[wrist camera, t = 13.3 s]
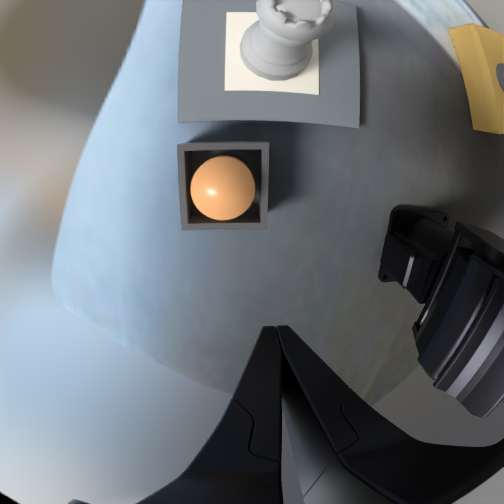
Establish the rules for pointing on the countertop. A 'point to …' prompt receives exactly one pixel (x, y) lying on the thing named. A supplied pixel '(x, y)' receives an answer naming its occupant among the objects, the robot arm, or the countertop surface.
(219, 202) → the button
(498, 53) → the rubber stamp
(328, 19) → the rook chess piece
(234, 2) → the slate board
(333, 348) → the countertop surface
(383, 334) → the countertop surface
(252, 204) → the button housing
